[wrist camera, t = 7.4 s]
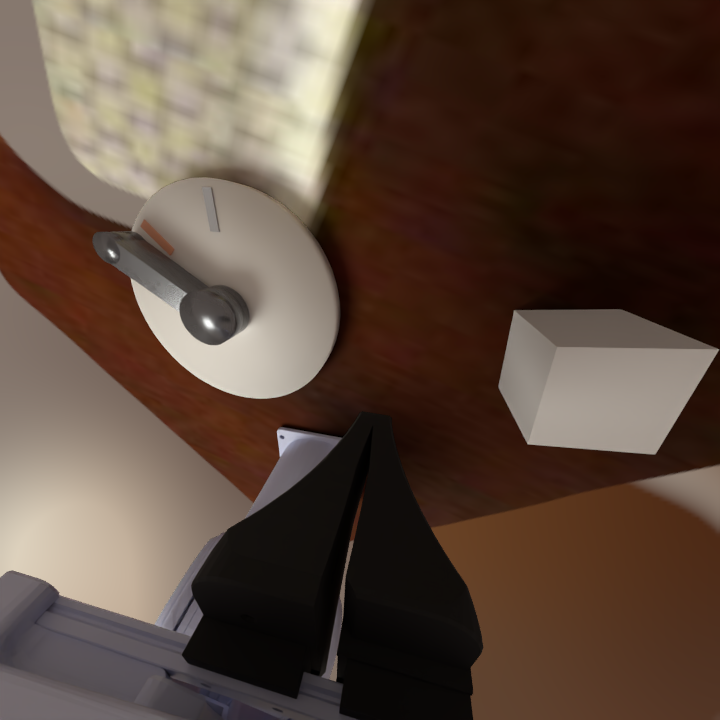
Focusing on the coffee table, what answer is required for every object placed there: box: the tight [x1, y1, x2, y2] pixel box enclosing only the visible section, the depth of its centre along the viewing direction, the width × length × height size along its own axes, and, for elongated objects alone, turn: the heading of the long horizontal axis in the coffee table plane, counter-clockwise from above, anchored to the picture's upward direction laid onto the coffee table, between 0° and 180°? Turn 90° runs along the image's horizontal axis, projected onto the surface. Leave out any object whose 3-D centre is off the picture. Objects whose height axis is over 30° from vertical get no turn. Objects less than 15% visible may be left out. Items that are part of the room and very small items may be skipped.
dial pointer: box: [93, 231, 250, 345], centre depth 17 cm, size 10×4×2 cm, turn 53°
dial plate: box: [131, 177, 340, 398], centre depth 20 cm, size 16×16×2 cm
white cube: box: [498, 309, 719, 454], centre depth 15 cm, size 6×6×6 cm
